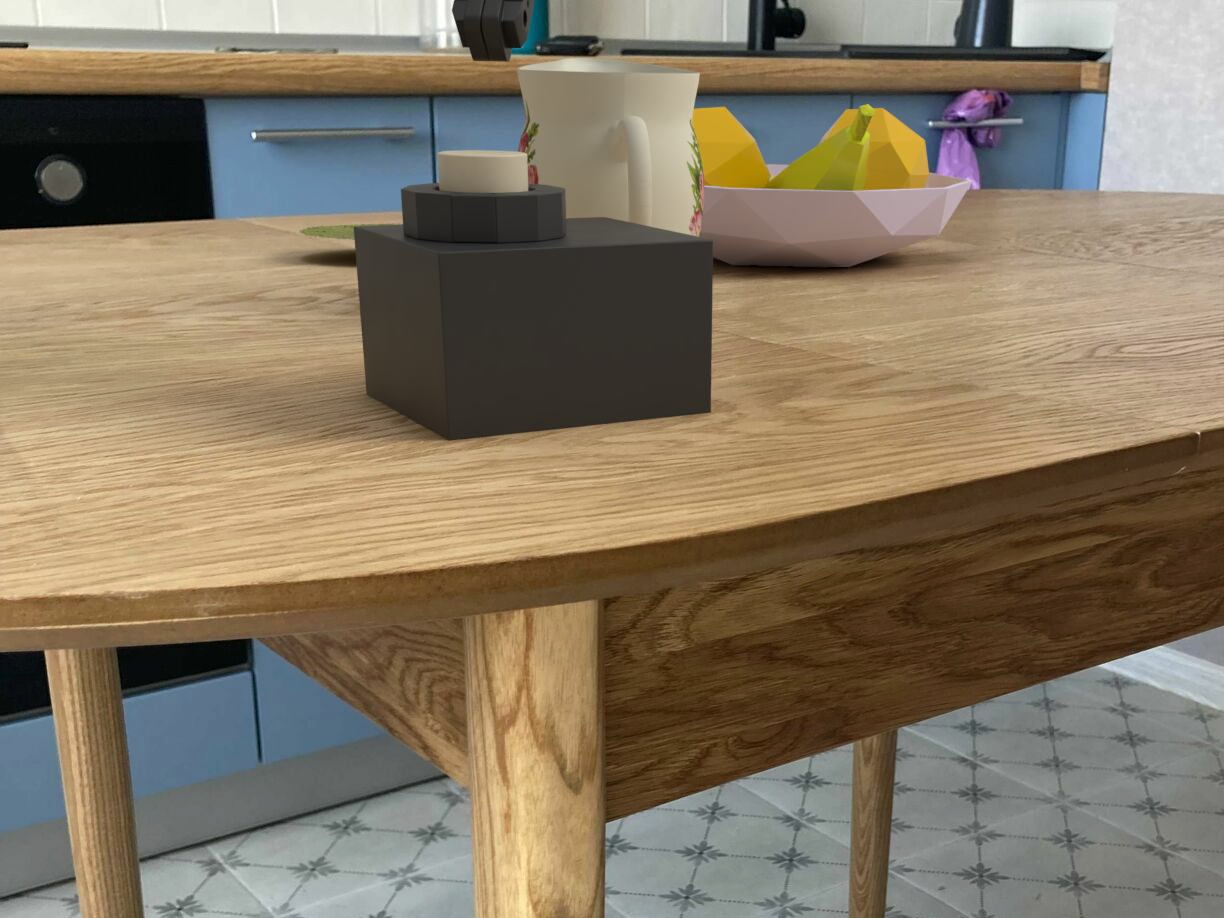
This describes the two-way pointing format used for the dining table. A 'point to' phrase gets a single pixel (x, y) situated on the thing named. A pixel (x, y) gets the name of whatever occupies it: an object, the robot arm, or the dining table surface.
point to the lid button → (482, 171)
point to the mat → (335, 231)
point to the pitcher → (615, 140)
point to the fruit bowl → (820, 193)
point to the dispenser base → (531, 315)
